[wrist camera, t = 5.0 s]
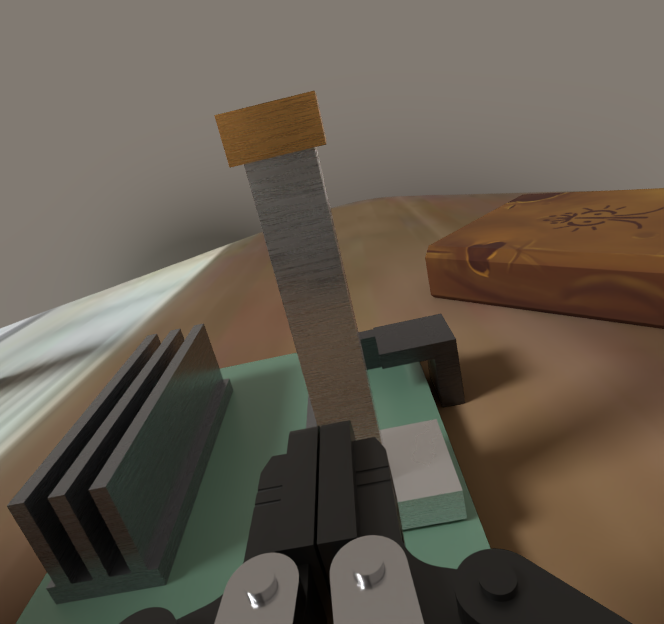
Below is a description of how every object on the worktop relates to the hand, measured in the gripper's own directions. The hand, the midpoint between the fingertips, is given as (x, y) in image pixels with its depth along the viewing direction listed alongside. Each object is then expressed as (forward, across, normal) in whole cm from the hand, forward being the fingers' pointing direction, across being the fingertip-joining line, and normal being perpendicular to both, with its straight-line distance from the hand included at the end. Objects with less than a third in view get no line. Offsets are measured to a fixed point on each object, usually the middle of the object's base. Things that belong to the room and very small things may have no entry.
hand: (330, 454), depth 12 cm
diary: (+32, +22, -11) cm, 41 cm away
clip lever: (+8, +1, -9) cm, 12 cm away
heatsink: (+14, -4, -10) cm, 18 cm away
